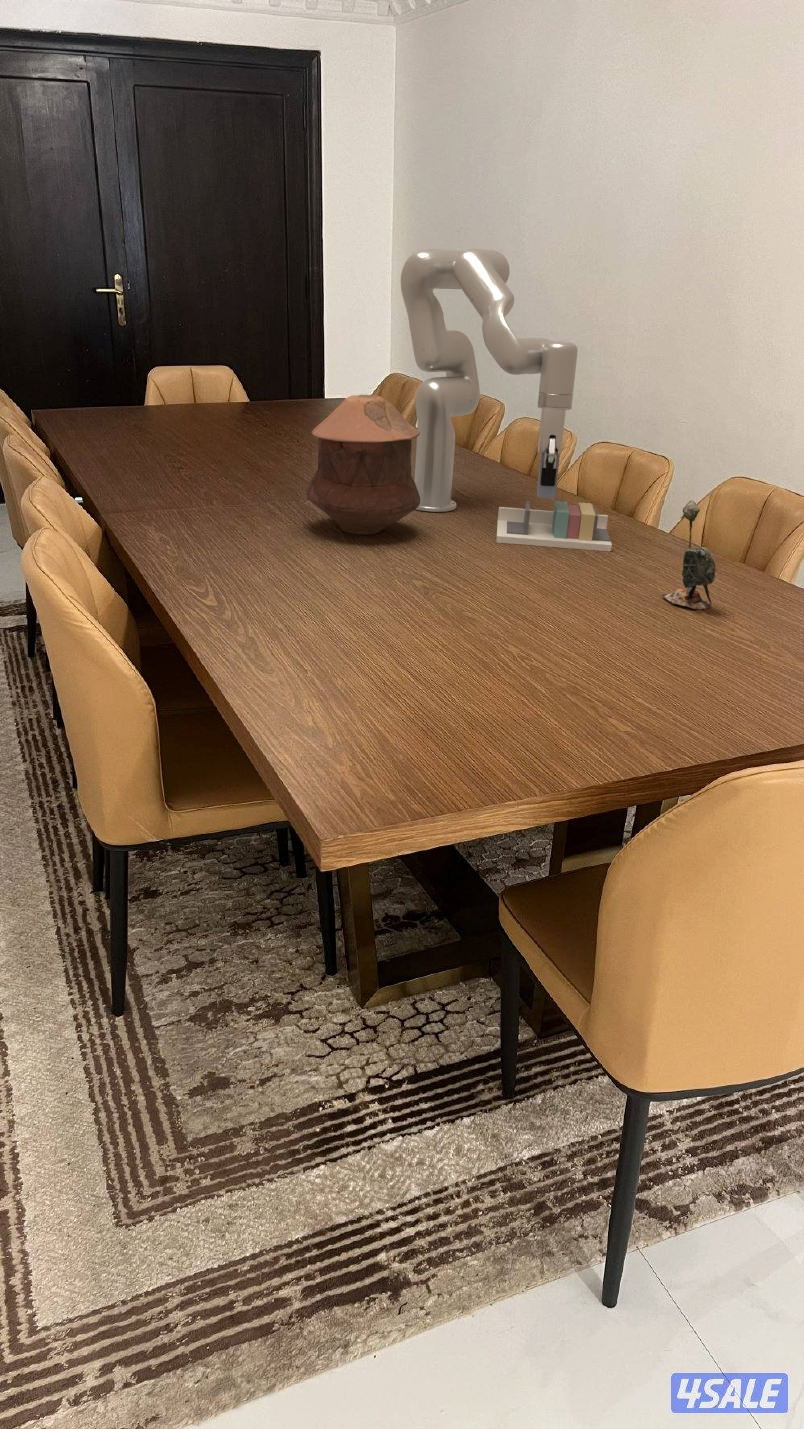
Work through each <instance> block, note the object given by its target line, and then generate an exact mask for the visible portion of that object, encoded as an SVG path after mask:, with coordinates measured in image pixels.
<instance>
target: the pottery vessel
mask: <svg viewBox="0 0 804 1429" xmlns="http://www.w3.org/2000/svg"><path fill="white" fill-rule="evenodd" d="M310 434H311V435H312V436H313V437H315V438H318V439H317V445H318V446H317V448H318V449H317V451H318V452H317V453H318V454H317V470H316V472H315V473H314V474H313V476H312V478H311V479H310V481H309V483H308V485H307V487H306V491H305V494H306V497H307V499H308V500H309V501H310V502H311V503H312V504H313V505H314V506H316V507H318V509H320V510H321V511H322V512H324V513H325V514H326V515H327V516H328V517H329V518H331V519H332V520H334V521H335V523H336V524H338V526H340V529H341V530H342V532H345V533H348V534H349V533H350V534H354V535H374V534H378V533H380V532H382V531H383V529H384V528H386V527H388V526H391V525H392V524H394V523H397V522H398V521H400V520H401V519H403V518H404V517H406V516H408V515H409V514H411V513H412V512H413V511H414V510H417V509H416V508H417V507H418V506H419V504H420V496H419V493H418V490H417V487H416V484H415V479H414V478H413V476H412V459H411V458H412V457H411V456H412V441H413V439H415V438H417V436H419V435H420V431H419V430H417V428H416V427H415V426H413V425H412V424H410V422H409V421H408V420H407V419H406V418H405V417H404V416H403V414H401V412H400V411H399V409H397V408H396V407H395V406H394V405H393V404H392V403H391V402H389V400H387V399H385V398H384V397H383V396H380V395H377V394H356V395H355V394H354V395H350V396H346V398H344V400H342V402H341V403H340V404H339V405H338V406H337V407H336V408H335V409H334V410H333V411H332V412H331V413H330V414H329V415H328V416H327V417H326V418H325V419H323V421H321V422H320V423H319V424H318V425H317V426H316V427H314V428H313V430H311V432H310Z"/></svg>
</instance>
